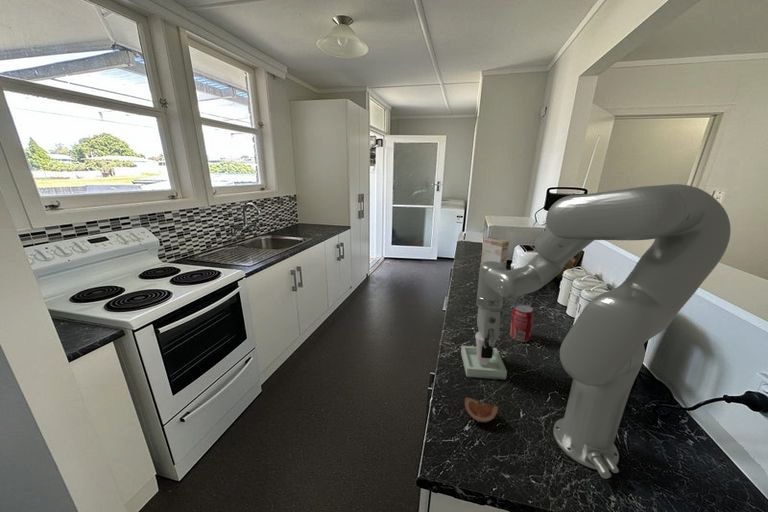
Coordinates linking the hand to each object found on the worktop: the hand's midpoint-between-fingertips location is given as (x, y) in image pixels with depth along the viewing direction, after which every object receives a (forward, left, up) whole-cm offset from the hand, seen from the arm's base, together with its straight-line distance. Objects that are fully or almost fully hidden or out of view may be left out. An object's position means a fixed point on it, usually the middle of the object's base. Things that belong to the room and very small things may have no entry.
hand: (484, 350), depth 90 cm
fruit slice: (-21, +5, -6) cm, 22 cm away
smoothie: (0, 0, -4) cm, 4 cm away
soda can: (+18, -18, -6) cm, 26 cm away
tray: (0, 0, -6) cm, 6 cm away
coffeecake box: (+103, -29, -6) cm, 107 cm away
